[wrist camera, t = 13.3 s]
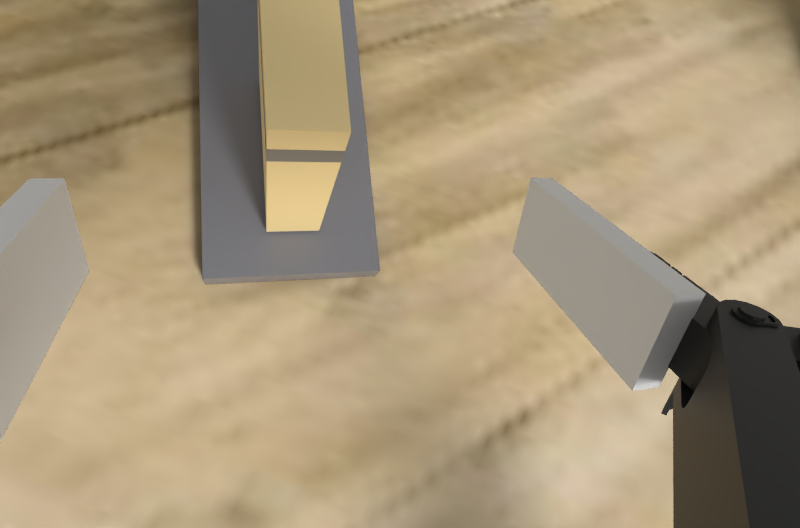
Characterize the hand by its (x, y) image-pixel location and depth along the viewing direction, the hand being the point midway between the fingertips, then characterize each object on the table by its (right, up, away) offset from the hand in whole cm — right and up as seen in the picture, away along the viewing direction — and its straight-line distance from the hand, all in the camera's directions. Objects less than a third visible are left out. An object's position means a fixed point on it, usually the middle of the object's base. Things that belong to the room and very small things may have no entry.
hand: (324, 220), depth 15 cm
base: (-6, +15, +19) cm, 25 cm away
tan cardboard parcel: (-5, +5, +15) cm, 17 cm away
